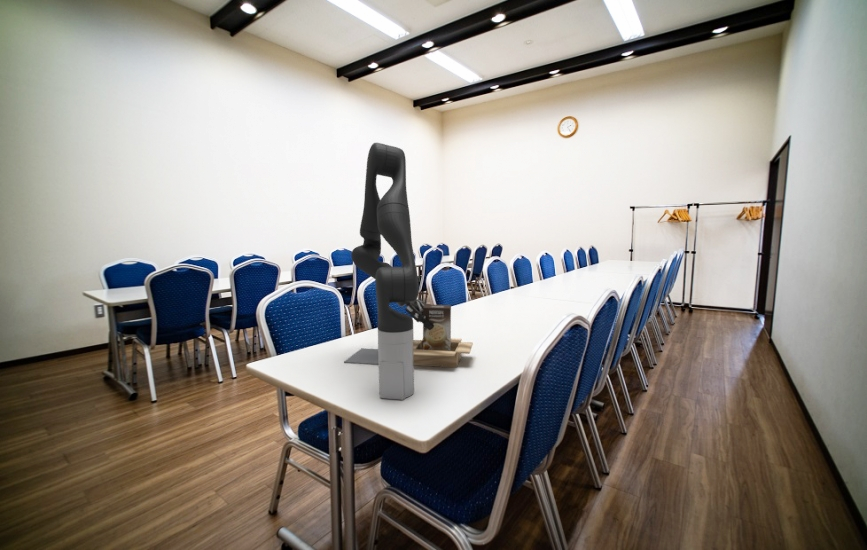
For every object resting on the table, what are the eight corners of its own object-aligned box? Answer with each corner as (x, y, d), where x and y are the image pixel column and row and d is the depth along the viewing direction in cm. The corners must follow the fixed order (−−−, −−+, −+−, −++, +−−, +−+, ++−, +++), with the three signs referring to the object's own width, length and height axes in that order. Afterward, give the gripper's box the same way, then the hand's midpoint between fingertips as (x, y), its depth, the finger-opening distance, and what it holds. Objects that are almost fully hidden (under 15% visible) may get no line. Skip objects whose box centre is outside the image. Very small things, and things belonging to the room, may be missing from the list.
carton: (468, 372, 111) (468, 356, 111) (397, 368, 116) (397, 352, 115) (473, 353, 130) (473, 339, 130) (412, 350, 134) (412, 336, 134)
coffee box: (422, 356, 120) (421, 307, 118) (424, 350, 126) (424, 304, 125) (450, 357, 119) (450, 307, 118) (451, 351, 125) (451, 304, 124)
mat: (384, 365, 119) (384, 364, 119) (344, 362, 121) (344, 361, 121) (398, 351, 133) (398, 350, 133) (361, 349, 136) (361, 348, 136)
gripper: (401, 284, 115) (438, 322, 114) (412, 279, 129) (445, 314, 128) (385, 300, 117) (421, 338, 116) (398, 294, 131) (430, 328, 130)
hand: (434, 325), depth 122 cm, fingers closed on coffee box, 6 cm apart
